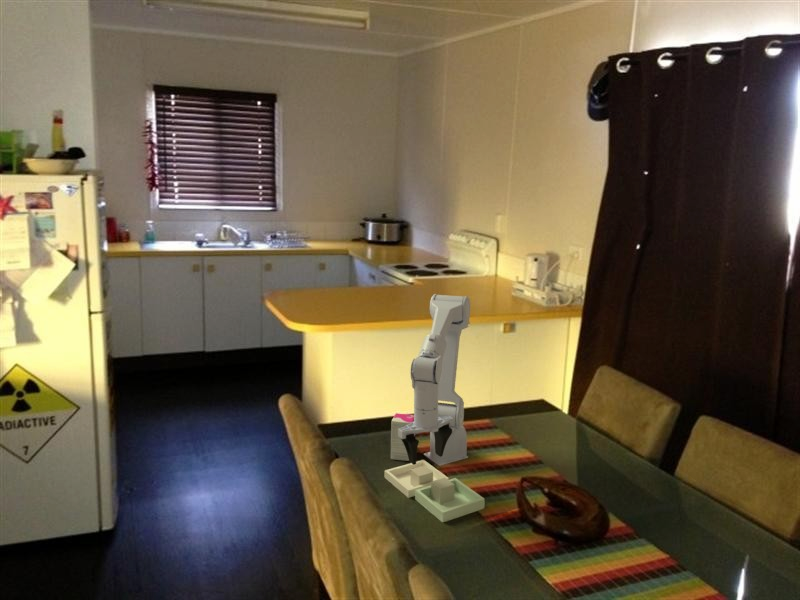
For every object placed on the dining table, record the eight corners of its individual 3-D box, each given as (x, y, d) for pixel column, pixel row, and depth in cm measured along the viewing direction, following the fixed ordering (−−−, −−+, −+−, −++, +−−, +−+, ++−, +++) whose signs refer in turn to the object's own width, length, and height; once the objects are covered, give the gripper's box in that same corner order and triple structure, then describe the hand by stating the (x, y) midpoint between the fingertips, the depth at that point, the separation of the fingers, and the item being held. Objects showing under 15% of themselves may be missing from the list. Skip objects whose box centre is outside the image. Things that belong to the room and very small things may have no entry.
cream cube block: (444, 492, 165) (444, 477, 164) (454, 499, 162) (454, 484, 161) (430, 497, 163) (430, 481, 162) (440, 504, 160) (440, 488, 159)
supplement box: (411, 463, 181) (411, 422, 179) (390, 461, 182) (389, 421, 180) (415, 453, 187) (415, 414, 184) (394, 451, 188) (394, 412, 185)
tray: (423, 468, 178) (423, 459, 178) (448, 487, 169) (448, 478, 168) (384, 479, 173) (384, 470, 172) (408, 500, 163) (408, 490, 162)
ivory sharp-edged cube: (424, 480, 171) (424, 465, 170) (433, 487, 168) (433, 472, 167) (410, 484, 169) (410, 469, 168) (419, 491, 166) (419, 476, 165)
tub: (455, 488, 168) (455, 477, 167) (484, 510, 158) (484, 498, 157) (415, 501, 162) (415, 490, 162) (442, 524, 152) (442, 512, 152)
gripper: (409, 418, 155) (409, 473, 159) (460, 405, 163) (460, 457, 166) (393, 408, 161) (393, 461, 164) (443, 395, 168) (443, 446, 172)
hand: (425, 458), depth 166 cm, fingers open, 7 cm apart
